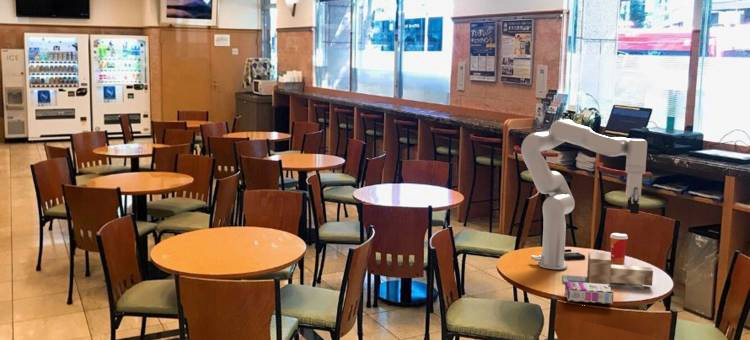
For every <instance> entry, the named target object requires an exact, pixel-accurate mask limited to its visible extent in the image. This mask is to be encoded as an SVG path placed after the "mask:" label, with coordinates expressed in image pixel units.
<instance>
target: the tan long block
mask: <svg viewBox="0 0 750 340" xmlns="http://www.w3.org/2000/svg"><path fill="white" fill-rule="evenodd" d="M587 255H588V256H587V257H588V258H587V273H586V276H580V275H579V276H578V275H569V274H568V275H567V274H562V284H565V283H566V282H579V283H596V284H609V286H610V288H611V289H623V290H624V289H625V290H634V291H635V290H637V291H638V290H639V291H644V285H637V284H624V283H612V282H610V273H611V264H612V261H611V255H610V253H609V252H594V251H588V254H587Z"/></svg>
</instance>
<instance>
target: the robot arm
mask: <svg viewBox="0 0 750 340" xmlns="http://www.w3.org/2000/svg"><path fill="white" fill-rule="evenodd" d="M565 142H566V143H569V144H572V145H576V146H580V147H582V148H584V149H587V150H589V151H591V152H594V153H598V154H600V155H603V156H606V157H612V158H613V157H619V156H626V159H625V161H626V162H625V173H626V174H627V177H626V184H625V185H626V186H625V196H626V197H627V205H626V209H627V210H629V213H630V214H634V215H637V214H639V212H640V198H641V196H642V187H643V185H642V184H643V175H645V174H646V167H647V153H648V142H647V140H646V139H643V138H627V137H623V136H618V137H610V136H606V135H604V134H603V135H602V134H600V133H597V132H595V131H593V129H592V128H591V127H589V126H586V125H582V124H578V123H576V122H574V121H573V120H572V119H568V118H567V119H557V120H555V121H553V122H552V124H551V125H550V127H549V129H547V130H544V131H537V132H535V131H534V132H532V133H530V134H528V135H527V136H525V138H524V139H523V141H522V143H521V148H520V151H521V152H520V153H521V156H522V160H523V161H524V163H525V165H526V167H527V170H528V172H529V174H530V177H531V179H532V181H533V183H534V186H535V188H536V190H537V191H538V192H539V193H540V194H542V195H543V194H544V195H547V194H548V195H549V196H548V197H547V198H546V199H545V200H544V201H543V203H542V217H543V225H542V226H543V231H542V248H541V249H542V250H541V253H540V254H539V255H532V254H531V259H530V260H533V261H535V262H537V261H538V262H537V265H538V267H540V268H544V269H548V270H565V269H567V268H568V263H566V262H565V259H564V253H566V252H565V250H566V231H567V229H566V227H567V224H566V216H565V215H568V214H570V213H572V211H573V210H574V209H575V205H576V204H575V203H576V202H575V199H574V197H573V194H572V191H571V189H570V188H569V185H568V183H567V181H566V179H565V178H564V176H563V174H562V173H560V172H559V171H556V170H551V169H550V166H549V165H548V163H547V161H546V158H544V156H543V155H542V153H541V152H545V151H550V150H552V149H554V148H556V147H558V146H560V145H561V144H563V143H565Z"/></svg>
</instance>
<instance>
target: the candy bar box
mask: <svg viewBox="0 0 750 340" xmlns="http://www.w3.org/2000/svg"><path fill="white" fill-rule="evenodd" d="M564 294H565V297H566V299H567V302H577V303H578V302H579V303H594V304H605V305H606V304H608V305H613V304H614V291H613V288H610V286H609V284H596V283H579V282H566V283H565V286H564Z"/></svg>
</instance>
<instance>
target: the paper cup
mask: <svg viewBox="0 0 750 340" xmlns="http://www.w3.org/2000/svg"><path fill="white" fill-rule="evenodd" d="M609 237H610V258H611V263H614V264H624V263H625V258H626V250H627V244H628V239H629V237H628V234H626V233H621V232H620V233H619V232H613V233H611V234H610V236H609Z"/></svg>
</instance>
